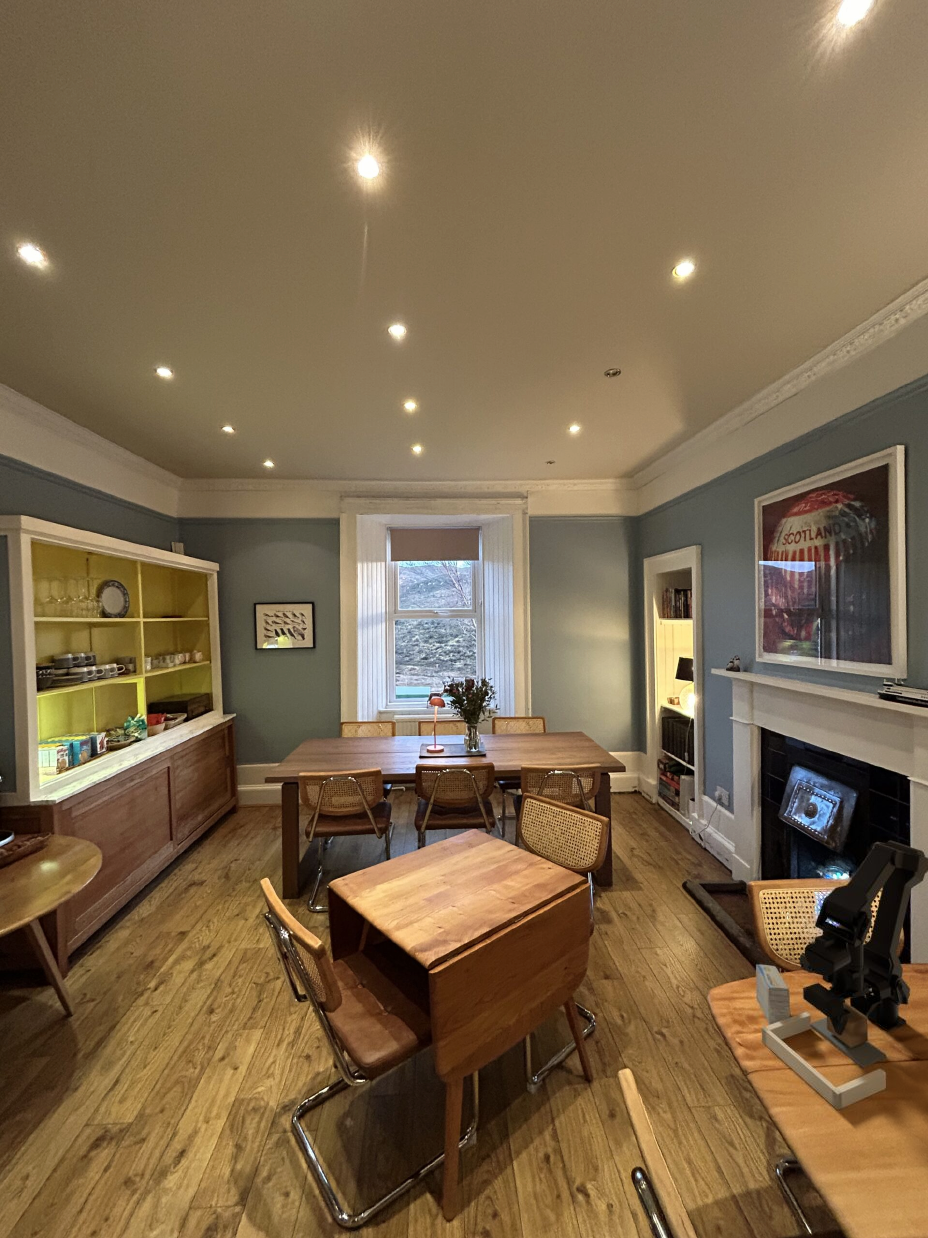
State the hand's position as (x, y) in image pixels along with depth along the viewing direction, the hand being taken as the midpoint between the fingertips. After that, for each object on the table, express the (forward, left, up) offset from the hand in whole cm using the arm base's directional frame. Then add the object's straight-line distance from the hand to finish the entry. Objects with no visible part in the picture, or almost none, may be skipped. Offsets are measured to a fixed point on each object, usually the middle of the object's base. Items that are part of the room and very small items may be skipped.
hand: (847, 1030), depth 109 cm
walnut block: (0, 0, -1) cm, 1 cm away
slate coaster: (0, 0, -2) cm, 2 cm away
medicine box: (+8, -11, -3) cm, 14 cm away
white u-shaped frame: (+11, +2, -2) cm, 11 cm away
